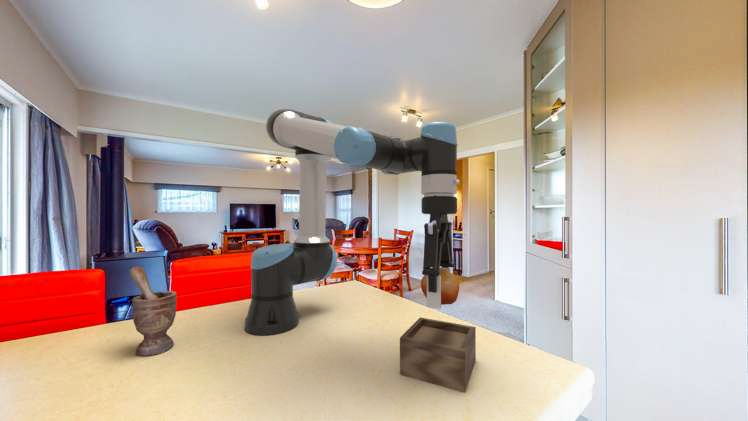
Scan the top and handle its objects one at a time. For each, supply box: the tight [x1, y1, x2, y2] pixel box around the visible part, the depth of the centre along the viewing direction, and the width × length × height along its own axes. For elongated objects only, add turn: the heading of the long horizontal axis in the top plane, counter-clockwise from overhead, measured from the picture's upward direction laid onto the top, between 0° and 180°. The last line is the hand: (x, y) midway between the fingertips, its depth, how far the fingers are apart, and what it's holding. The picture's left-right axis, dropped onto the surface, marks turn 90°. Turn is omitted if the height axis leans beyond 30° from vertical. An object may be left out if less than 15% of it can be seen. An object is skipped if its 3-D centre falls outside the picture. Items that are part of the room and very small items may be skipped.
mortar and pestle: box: [129, 265, 178, 357], centre depth 70 cm, size 12×9×20 cm
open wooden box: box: [399, 316, 477, 393], centre depth 62 cm, size 13×13×8 cm
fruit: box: [420, 269, 460, 306], centre depth 63 cm, size 8×8×8 cm
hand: (439, 301), depth 62 cm, fingers closed on fruit, 8 cm apart
